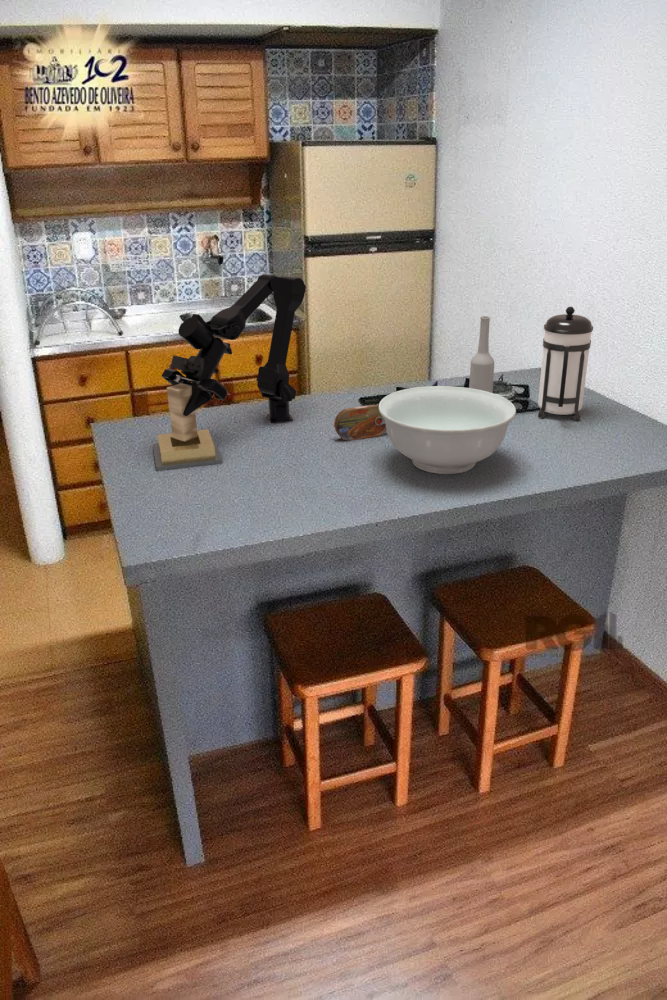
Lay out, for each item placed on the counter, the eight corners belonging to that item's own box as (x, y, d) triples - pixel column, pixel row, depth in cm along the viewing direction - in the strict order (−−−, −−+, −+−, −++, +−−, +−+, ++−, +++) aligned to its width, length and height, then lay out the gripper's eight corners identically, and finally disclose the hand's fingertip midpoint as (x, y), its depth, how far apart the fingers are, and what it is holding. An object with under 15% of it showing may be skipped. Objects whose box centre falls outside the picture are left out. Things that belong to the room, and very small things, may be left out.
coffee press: (518, 410, 223) (527, 305, 210) (562, 402, 229) (573, 299, 216) (558, 429, 208) (570, 316, 196) (604, 419, 214) (619, 310, 202)
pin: (186, 432, 198) (180, 383, 192) (197, 436, 195) (192, 386, 190) (172, 437, 195) (166, 387, 189) (184, 441, 192) (178, 390, 187)
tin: (337, 442, 203) (336, 412, 199) (333, 438, 206) (332, 408, 202) (390, 435, 207) (390, 405, 204) (385, 431, 210) (386, 401, 206)
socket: (153, 447, 202) (151, 433, 200) (214, 441, 206) (213, 426, 204) (156, 470, 188) (154, 455, 186) (222, 463, 192) (221, 448, 190)
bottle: (465, 419, 217) (471, 319, 205) (469, 412, 223) (474, 313, 211) (489, 421, 215) (496, 320, 203) (492, 413, 221) (499, 314, 209)
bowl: (540, 470, 184) (546, 411, 178) (429, 501, 170) (431, 438, 163) (456, 430, 209) (458, 377, 203) (353, 454, 195) (352, 398, 189)
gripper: (162, 336, 193) (132, 390, 190) (214, 347, 182) (182, 404, 179) (190, 360, 202) (161, 412, 199) (240, 372, 191) (211, 427, 188)
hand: (178, 413), depth 191 cm, fingers closed on pin, 4 cm apart
